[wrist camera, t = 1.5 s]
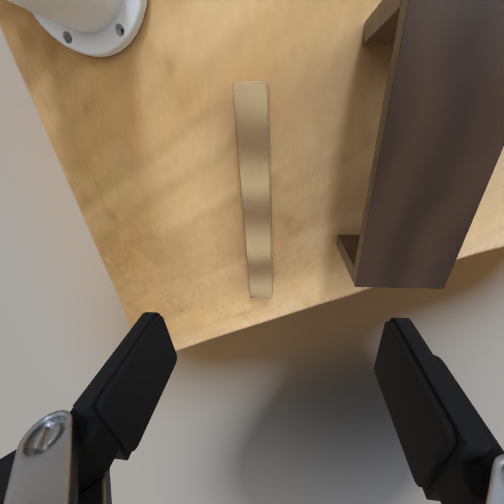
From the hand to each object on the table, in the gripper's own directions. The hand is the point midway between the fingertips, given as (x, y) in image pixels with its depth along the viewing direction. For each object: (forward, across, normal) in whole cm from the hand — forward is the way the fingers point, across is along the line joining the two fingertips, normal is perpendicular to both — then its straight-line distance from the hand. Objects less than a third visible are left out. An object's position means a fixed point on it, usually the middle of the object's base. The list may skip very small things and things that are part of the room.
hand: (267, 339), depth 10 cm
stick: (+21, +2, 0) cm, 22 cm away
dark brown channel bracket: (+22, -12, -4) cm, 25 cm away
